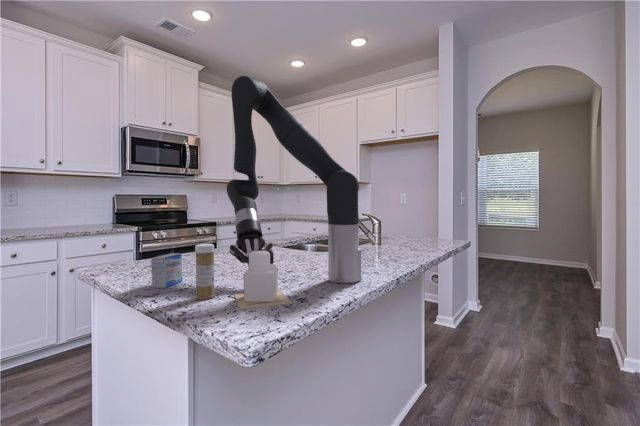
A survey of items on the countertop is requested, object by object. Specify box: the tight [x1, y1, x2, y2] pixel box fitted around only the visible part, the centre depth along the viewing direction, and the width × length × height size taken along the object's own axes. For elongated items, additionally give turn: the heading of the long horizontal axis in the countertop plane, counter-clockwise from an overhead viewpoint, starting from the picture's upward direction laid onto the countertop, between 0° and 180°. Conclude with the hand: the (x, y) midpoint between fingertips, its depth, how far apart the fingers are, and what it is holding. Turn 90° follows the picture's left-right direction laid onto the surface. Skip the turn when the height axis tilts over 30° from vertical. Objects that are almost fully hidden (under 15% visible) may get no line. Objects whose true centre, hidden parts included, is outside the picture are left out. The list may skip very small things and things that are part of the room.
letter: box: [233, 288, 293, 310], centre depth 81 cm, size 12×13×1 cm
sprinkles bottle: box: [194, 243, 216, 301], centre depth 82 cm, size 5×5×14 cm
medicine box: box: [150, 253, 183, 289], centre depth 96 cm, size 8×4×9 cm, turn 168°
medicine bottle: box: [243, 248, 279, 302], centre depth 81 cm, size 7×7×12 cm
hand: (255, 273), depth 90 cm, fingers closed
